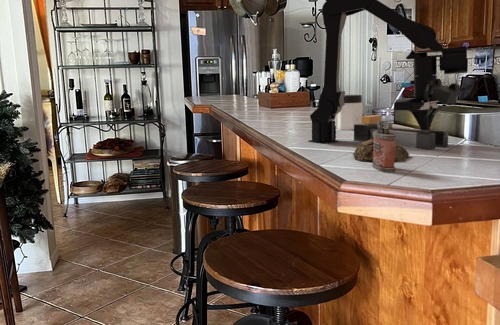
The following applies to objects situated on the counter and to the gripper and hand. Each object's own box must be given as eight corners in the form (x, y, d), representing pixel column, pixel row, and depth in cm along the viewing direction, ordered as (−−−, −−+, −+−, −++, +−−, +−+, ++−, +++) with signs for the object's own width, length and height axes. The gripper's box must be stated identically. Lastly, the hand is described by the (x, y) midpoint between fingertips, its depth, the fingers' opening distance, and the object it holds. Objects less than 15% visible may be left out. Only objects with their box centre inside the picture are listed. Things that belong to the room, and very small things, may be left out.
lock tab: (369, 123, 138) (369, 116, 137) (361, 123, 140) (361, 116, 140) (381, 122, 140) (381, 115, 140) (373, 121, 143) (373, 115, 143)
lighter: (369, 165, 104) (369, 119, 102) (384, 164, 105) (385, 118, 103) (382, 172, 96) (383, 123, 95) (398, 172, 97) (399, 122, 95)
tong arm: (443, 147, 123) (443, 131, 123) (381, 141, 138) (381, 126, 137) (447, 146, 125) (448, 130, 124) (385, 140, 139) (386, 125, 139)
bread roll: (360, 153, 122) (360, 134, 121) (411, 156, 116) (411, 135, 115) (345, 162, 111) (345, 141, 110) (400, 165, 105) (401, 143, 104)
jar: (348, 130, 168) (349, 96, 165) (332, 129, 174) (332, 95, 172) (367, 128, 172) (367, 94, 170) (350, 127, 179) (350, 94, 177)
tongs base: (426, 151, 120) (427, 131, 119) (353, 141, 141) (354, 124, 140) (449, 147, 125) (450, 128, 124) (375, 138, 146) (375, 122, 145)
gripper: (428, 76, 116) (428, 140, 118) (474, 72, 126) (474, 131, 128) (391, 78, 125) (393, 137, 128) (437, 74, 135) (437, 130, 138)
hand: (425, 134), depth 130 cm, fingers closed
